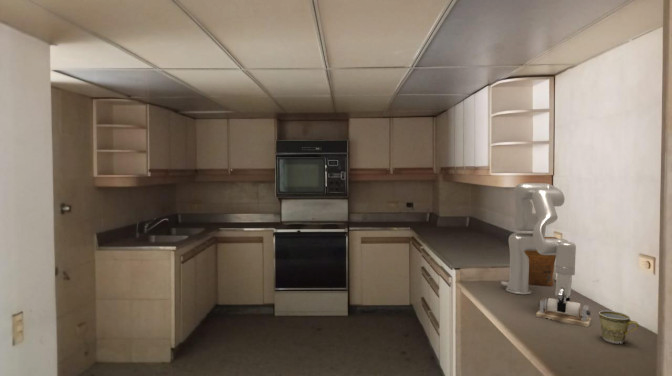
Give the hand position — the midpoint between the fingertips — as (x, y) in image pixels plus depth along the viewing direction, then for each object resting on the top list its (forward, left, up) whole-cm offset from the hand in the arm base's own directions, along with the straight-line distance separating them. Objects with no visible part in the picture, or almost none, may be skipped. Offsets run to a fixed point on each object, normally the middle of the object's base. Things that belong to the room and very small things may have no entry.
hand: (563, 308), depth 187 cm
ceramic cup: (+21, -15, -5) cm, 26 cm away
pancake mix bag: (-22, +55, -5) cm, 59 cm away
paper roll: (0, 0, -2) cm, 2 cm away
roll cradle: (0, 0, -4) cm, 4 cm away
